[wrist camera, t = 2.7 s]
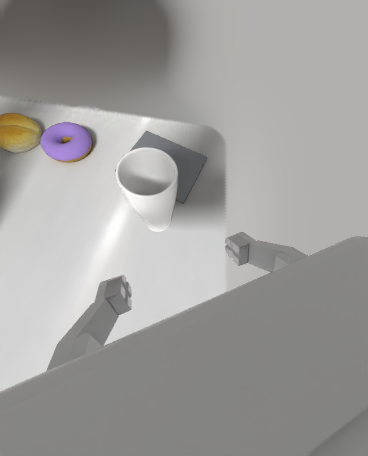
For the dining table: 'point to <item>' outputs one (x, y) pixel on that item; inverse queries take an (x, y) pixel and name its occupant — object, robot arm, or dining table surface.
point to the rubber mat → (176, 161)
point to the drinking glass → (149, 185)
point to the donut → (66, 142)
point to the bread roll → (18, 133)
